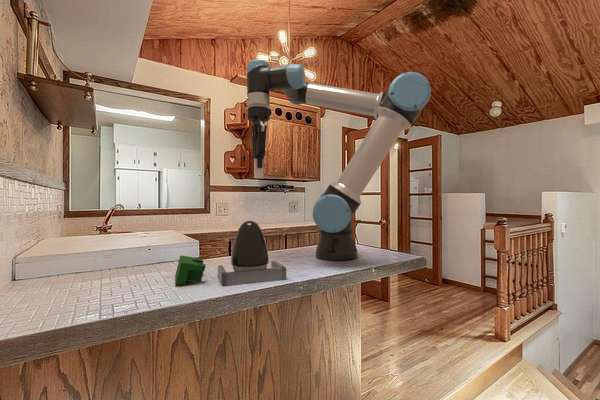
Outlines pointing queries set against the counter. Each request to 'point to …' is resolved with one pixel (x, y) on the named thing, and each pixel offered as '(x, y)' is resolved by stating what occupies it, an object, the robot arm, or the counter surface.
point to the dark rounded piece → (249, 248)
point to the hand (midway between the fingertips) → (259, 178)
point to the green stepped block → (189, 270)
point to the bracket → (252, 275)
